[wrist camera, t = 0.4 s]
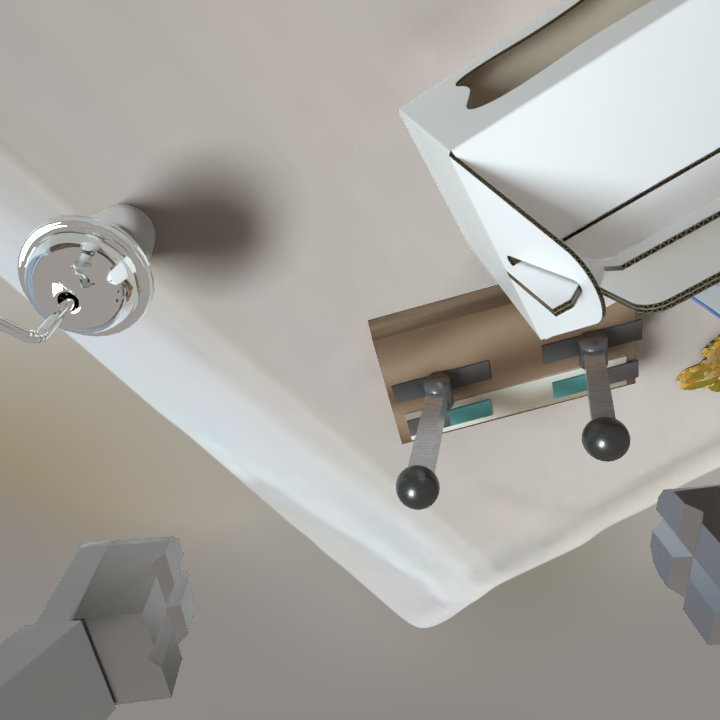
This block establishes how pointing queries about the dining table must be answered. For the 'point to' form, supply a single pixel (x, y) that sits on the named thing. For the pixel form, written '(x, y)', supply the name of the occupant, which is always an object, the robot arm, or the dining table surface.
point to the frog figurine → (704, 370)
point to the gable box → (586, 157)
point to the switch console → (490, 358)
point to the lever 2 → (600, 401)
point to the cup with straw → (87, 273)
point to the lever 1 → (426, 446)
